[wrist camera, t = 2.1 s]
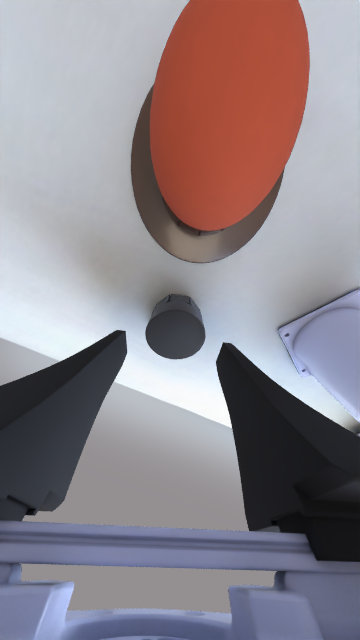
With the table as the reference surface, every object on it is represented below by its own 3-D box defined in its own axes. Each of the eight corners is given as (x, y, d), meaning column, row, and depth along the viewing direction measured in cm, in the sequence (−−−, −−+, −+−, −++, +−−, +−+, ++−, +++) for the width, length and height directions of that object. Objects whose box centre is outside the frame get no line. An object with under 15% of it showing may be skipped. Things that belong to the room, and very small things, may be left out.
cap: (208, 320, 15) (216, 342, 11) (173, 341, 16) (171, 367, 13) (181, 283, 13) (180, 297, 9) (144, 311, 14) (132, 332, 11)
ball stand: (297, 203, 10) (322, 193, 8) (188, 284, 13) (189, 290, 11) (237, -17, 6) (258, -120, 4) (104, 169, 9) (86, 151, 8)
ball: (269, 191, 9) (396, 108, 4) (194, 252, 11) (206, 257, 5) (226, 64, 7) (389, -631, 1) (141, 169, 8) (73, 39, 3)
